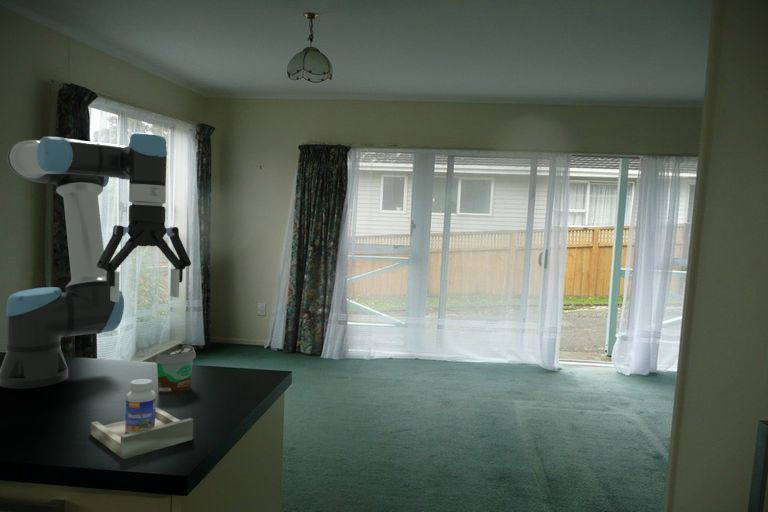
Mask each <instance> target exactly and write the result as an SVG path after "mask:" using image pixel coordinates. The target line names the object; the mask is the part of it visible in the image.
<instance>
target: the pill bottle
mask: <svg viewBox="0 0 768 512" xmlns="http://www.w3.org/2000/svg"><path fill="white" fill-rule="evenodd" d="M153 385H154V384H153V379H149V378H139V379H134V380H131V381H130V386H129V389H130V391H129V392H128V393H127V394H126V395H125V396H126V397H125V415H124V416H125V418H124V419H125V420H124V421H125V431H126V432H127V433H133V432H137V431H141V430H145V429H149V428H153V427H155V408H156V399H157V395H156V392H155V391H154V390H152V388H153Z"/></svg>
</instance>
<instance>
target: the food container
mask: <svg viewBox="0 0 768 512" xmlns="http://www.w3.org/2000/svg"><path fill="white" fill-rule="evenodd" d="M196 357H197V354H196V350H195V349H194V347H193V346H191V345H186V344H182V348H180V349H178V350H171V351H169V352H168V353H166V354H156V357H155V364H156V366H157V367H156V368H157V369H156V370H157V389H158V394H159V395H176V394H182V393H184V392H187V391H188V390H190V389H191V383H192V373H193V364H194V360H195V359H196Z"/></svg>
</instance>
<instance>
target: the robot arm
mask: <svg viewBox="0 0 768 512" xmlns="http://www.w3.org/2000/svg"><path fill="white" fill-rule="evenodd" d="M167 148H168V147H167V140H166V138H165V137H164V136H162V135H158V134H153V133H145V132H143V133H142V132H141V133H140V132H138V133H132V134H131V135H130V138H129V143H128V145H123V144H113V143H106V142H96V141H86V140H80V139H73V138H66V137H65V138H64V137H61V136H43V137H42V138H41V139H29V140H22V141H17V142H15V143H14V144H13V145H11V147H9V149H8V151H7V155H6V161H7V164H8V167H9V168H10V169H11V171H12V172H13V173H14V174H15V175H17V176H19V177H21V178H23V179H25V180H28V181H30V182H34V183H41V184H49V185H50V184H51V185H55V191H56V194H58V195H59V196H61V197H62V198H63V205H64V207H63V208H64V216H65V227H66V236H67V238H66V239H67V248H68V258H69V259H68V260H69V268H70V278H71V279H70V281H69V282H68V284H67V285H65V292H62V291H63V290H62V289H61V288H60V287H55V286H49V287H36V288H31V289H24V290H21V291H17V292H15V293H12V294H11V295H10V296H8V299H7V301H6V309H5V310H6V311H5V316H6V353H5V356H4V359H3V361H2V364H1V366H0V387H2V388H5V389H14V390H15V389H17V390H18V389H20V390H21V389H22V390H23V389H34V388H35V389H36V388H42V387H49V386H53V385H56V384H59V383H62V382H64V381H66V380H67V379H68V378H69V367H68V365H67V363H66V359H65V356H64V353H63V352H62V348H61V346H62V345H61V340H62V338H65V337H72V336H73V337H74V336H83V335H90V334H91V335H92V334H98V335H99V334H102V333H107V332H113V331H115V330H116V329H117V328H118V327H119V326H120V324H121V322H122V320H123V316H124V310H125V298H124V297H125V296H124V295H123V291H122V290H121V289H120V273H121V272H120V271H117V269H118V268H119V267H120V265H122V264H123V262H124V261H125V260H126V259H127V258H128V256H130V254H131V253H132V252H133V251H134V250H135V249H136V248H138V247H147V246H149V247H157V248H158V249H159V250H160V252H161V253H162V254H163V255H164V257H166V259H167V260H168V261H169V263H170V264H171V265H172V266H173V267H174V268H170V289H169V290H170V292H169V293H170V294H169V295H170V297H173V298H180V283H182V282H183V279H184V278H183V275H184V273H183V271H184V270H185V269H186V267H190V266H191V265H192V262H191V260H190V257H189V255H188V253H187V251H186V249H185V246H184V244H183V242H182V239H181V237H180V230H179V227H177V226H169V227H166V225H165V224H166V207H165V206H164V205H165V204H166V200H167V198H166V196H167V195H166V194H167V190H166V189H167V187H166V186H167V158H168V157H167V156H168V149H167ZM110 178H116V179H120V180H127V181H129V186H128V189H129V190H128V202H129V203H131V204H130V205H129V206H128V226H123V225H119V224H118V225H117V224H115V225H114V226H113V227H112V228H113V229H112V235H111V237H110V239H109V241H108V243H107V244H106V246H105V248H104V242H103V241H104V240H103V231H102V222H101V212H100V205H99V196H100V195H101V194H102V193H103V192H104V188H105V187H106V186H107V185H108V184H109V180H110ZM126 233H127V234H128V236H129V238H128V240H127V241H126V242H125V243H124V245H123V247H122V248H121V249H120V250H119V251H118V252H117V253H116V251H117V249H118V247H119V245H120V243H121V241H122V239H123V237H125V236H126ZM165 235H167V236H168V237H169V239H170V242H171V244H172V246H173V248H174V251H175V252H173V250H172V249H171V247H170V246H169V244H168V243H167V241H166V240H165V238H164V237H165ZM115 253H116V254H115Z"/></svg>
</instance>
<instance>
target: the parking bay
mask: <svg viewBox="0 0 768 512" xmlns="http://www.w3.org/2000/svg"><path fill="white" fill-rule="evenodd" d="M90 435H91V436H92V437H93V438H95V439H96V440H97V441H98V442H100V443H101V444H102V445H104V446H105V447H107V448H108V449H109V450H110V451H112V452H113V453H114V454H116V455H117V456H118V457H120V458H121V459H122V460H126V459H129V458H133V457H137V456H140V455H144V454H148V453H150V452H154V451H158V450H161V449H165V448H167V447H171V446H174V445H177V444H181V443H185V442H188V441H189V442H190V441H192V440H193V439H194V419H193V418H192V417H189V418H185V419H180V418H176V416H175V417H174V416H173V415H171V414H170V413H168V412H166V411H165V410H162V409H161V408H159V407H155V427H153V428H149V429H145V430H141V431H137V432H133V433H127V432H126V431H125V420H122V421H121V420H120V421H117V422H113V423H109V424H105V425H103V424H102V423H101V422H99V420H96V421H92V422H90Z"/></svg>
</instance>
